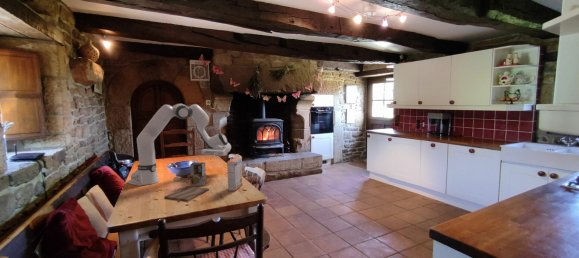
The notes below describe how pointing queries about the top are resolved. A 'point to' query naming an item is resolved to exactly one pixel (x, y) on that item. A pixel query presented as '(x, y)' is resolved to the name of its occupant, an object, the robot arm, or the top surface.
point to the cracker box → (234, 174)
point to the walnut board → (187, 193)
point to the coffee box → (198, 174)
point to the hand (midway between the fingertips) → (208, 154)
